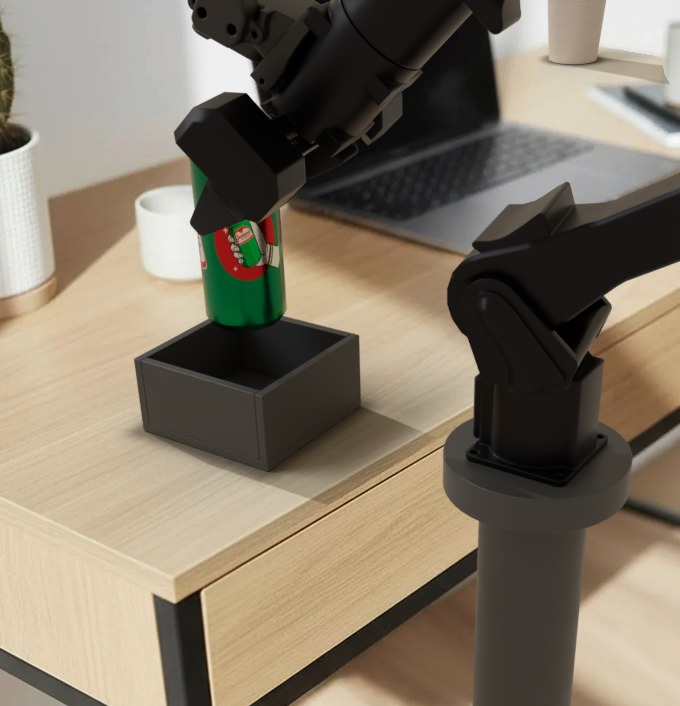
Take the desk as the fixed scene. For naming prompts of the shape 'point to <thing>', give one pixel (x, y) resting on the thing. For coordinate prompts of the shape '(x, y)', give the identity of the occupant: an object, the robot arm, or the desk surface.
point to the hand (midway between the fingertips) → (217, 215)
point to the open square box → (250, 388)
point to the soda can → (242, 270)
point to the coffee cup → (574, 30)
